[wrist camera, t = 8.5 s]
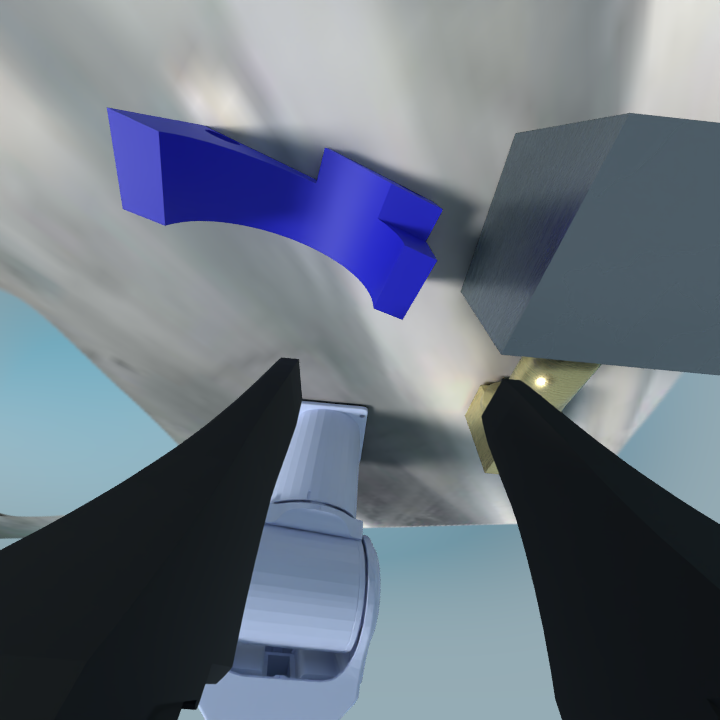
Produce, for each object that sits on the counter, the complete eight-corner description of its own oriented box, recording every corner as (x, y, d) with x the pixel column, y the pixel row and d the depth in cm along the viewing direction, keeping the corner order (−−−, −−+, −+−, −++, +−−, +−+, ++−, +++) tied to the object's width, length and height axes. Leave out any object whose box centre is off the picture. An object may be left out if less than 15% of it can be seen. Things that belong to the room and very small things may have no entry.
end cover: (514, 420, 24) (546, 480, 20) (455, 414, 24) (474, 474, 20) (581, 325, 18) (653, 383, 13) (502, 317, 18) (546, 373, 13)
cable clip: (431, 200, 14) (459, 222, 10) (395, 274, 17) (402, 319, 12) (206, 85, 12) (95, 37, 7) (204, 192, 15) (122, 208, 10)
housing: (629, 316, 18) (743, 388, 12) (457, 300, 18) (495, 364, 12) (759, 159, 12) (1066, 160, 7) (515, 133, 12) (629, 113, 7)
